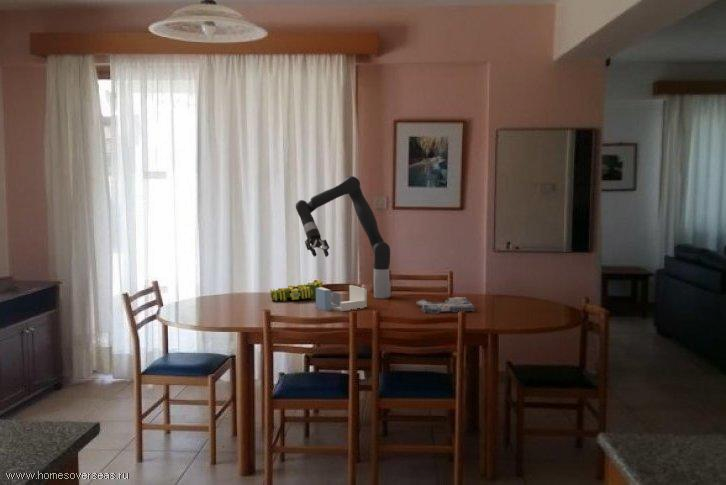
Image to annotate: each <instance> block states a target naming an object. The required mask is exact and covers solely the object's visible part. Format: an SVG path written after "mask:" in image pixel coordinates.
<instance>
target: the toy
mask: <svg viewBox="0 0 726 485" xmlns="http://www.w3.org/2000/svg"><path fill="white" fill-rule="evenodd" d="M323 286H324V285H323V281H321V280H320V279H317V280H316V281H315V282H308V283H307V284H306V283H303V284H302V283H301V284H297V285H295V284H292V285H288V287H281V288H280V287H278V288H277V289H275V288H273V289H271V288H270V289H269V292H270V293H269V294H270V298H271V300H275V301H277V302H287V301H296V300H297V301H298V300H304V299H310V300H316V288H320V287H323ZM323 288H324V287H323Z"/></svg>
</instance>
